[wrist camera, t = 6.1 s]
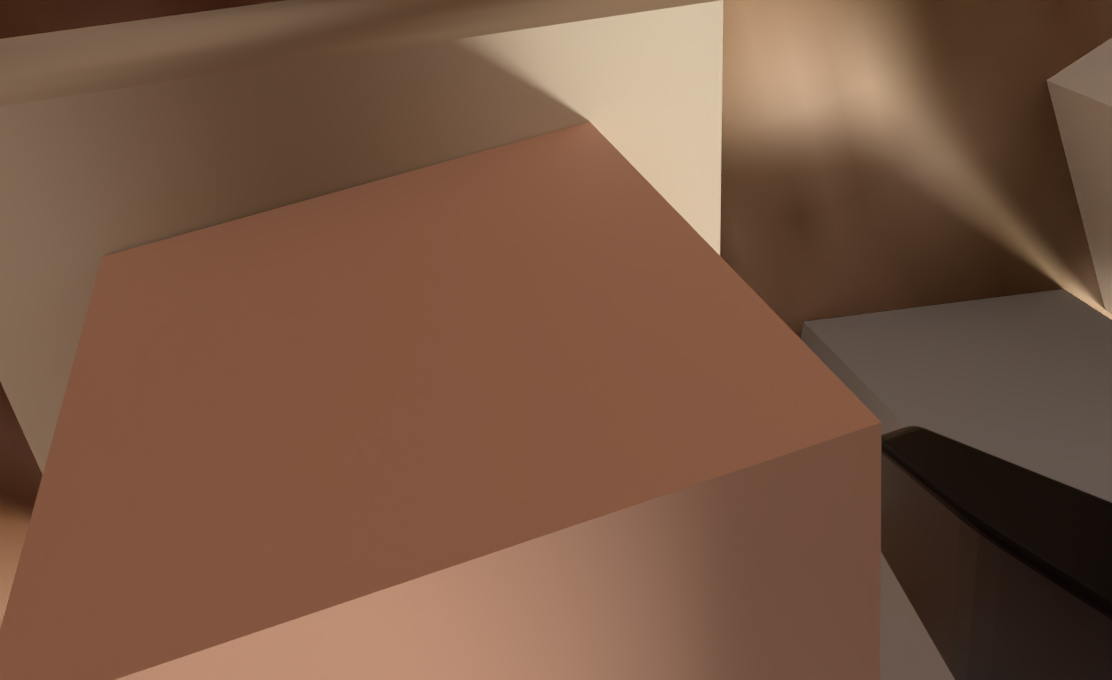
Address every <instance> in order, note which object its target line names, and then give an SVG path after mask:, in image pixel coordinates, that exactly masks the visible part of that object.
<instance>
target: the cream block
mask: <svg viewBox="0 0 1112 680" xmlns="http://www.w3.org/2000/svg"><path fill="white" fill-rule="evenodd" d="M1046 81H1047V84H1048V88H1049V92H1050V96H1051V100H1052V104H1053V108H1054V112H1055V116H1056V120H1057V124H1058V127H1059V131H1060V135H1061V139H1062V143H1063V147H1064V151H1065V155H1066V159H1067V163H1068V167H1069V170H1070V174H1071V178H1072V182H1073V186H1074V190H1075V194H1076V198H1077V202H1078V206H1079V210H1080V213H1081V217H1082V221H1083V225H1084V229H1085V233H1086V237H1087V241H1088V245H1089V249H1090V252H1091V256H1092V260H1093V264H1094V268H1095V272H1096V276H1097V280H1098V284H1099V288H1100V292H1101V295H1102V299H1103V303H1104V307H1105V310H1107V311H1108V312H1110V313H1111V314H1112V38H1110V39H1109V40H1107V41H1106V42H1104V43H1103V44H1101V45H1100V46H1098V47H1097V48H1095V49H1093V50H1092V51H1090V52H1089V53H1087V54H1086V55H1084V56H1083V57H1081V58H1080V59H1078V60H1077V61H1075V62H1074V63H1072V64H1071V65H1069V66H1067V67H1066V68H1064V69H1063V70H1061V71H1060V72H1058V73H1057V74H1055V75H1054V76H1052V77H1051V78H1049V79H1048V80H1046Z"/></svg>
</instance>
